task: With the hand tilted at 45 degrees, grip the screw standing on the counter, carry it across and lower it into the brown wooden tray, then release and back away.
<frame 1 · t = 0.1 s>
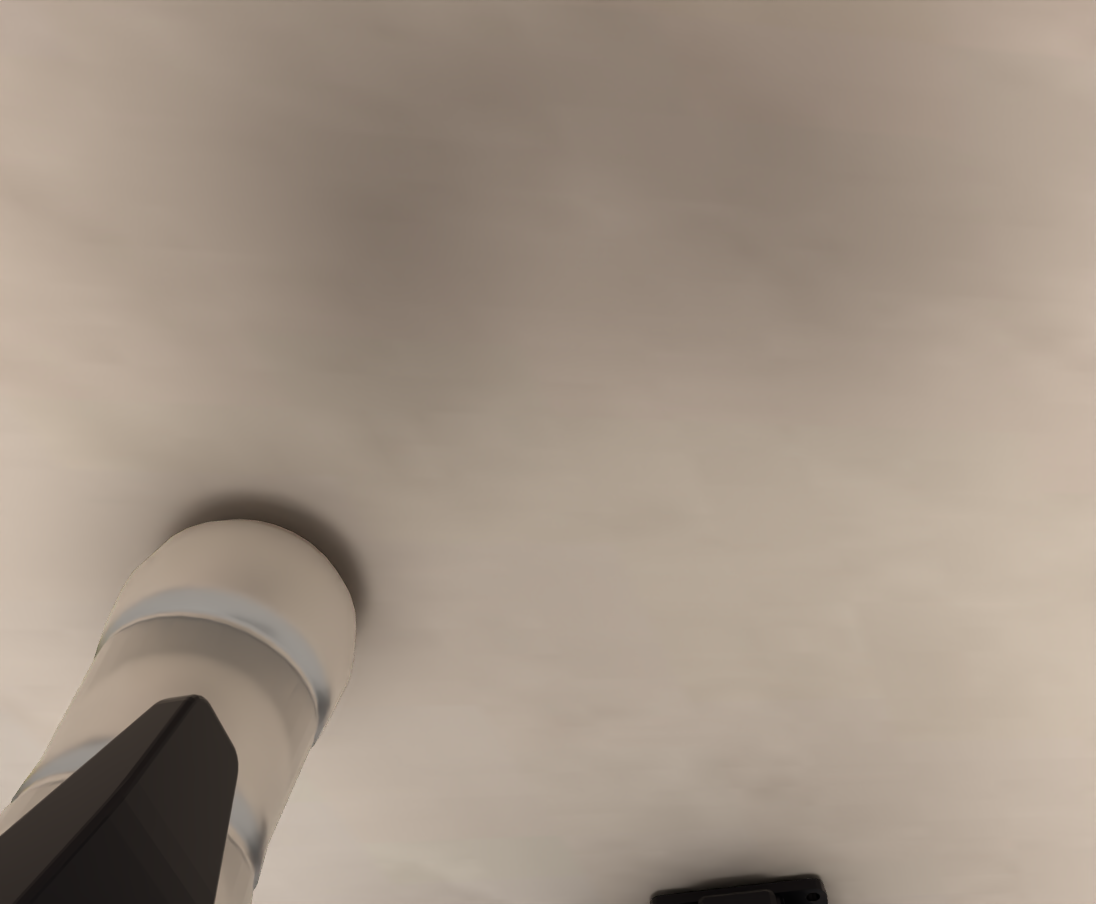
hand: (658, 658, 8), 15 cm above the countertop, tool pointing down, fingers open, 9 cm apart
plastic bottle: (267, 579, 27), on the countertop
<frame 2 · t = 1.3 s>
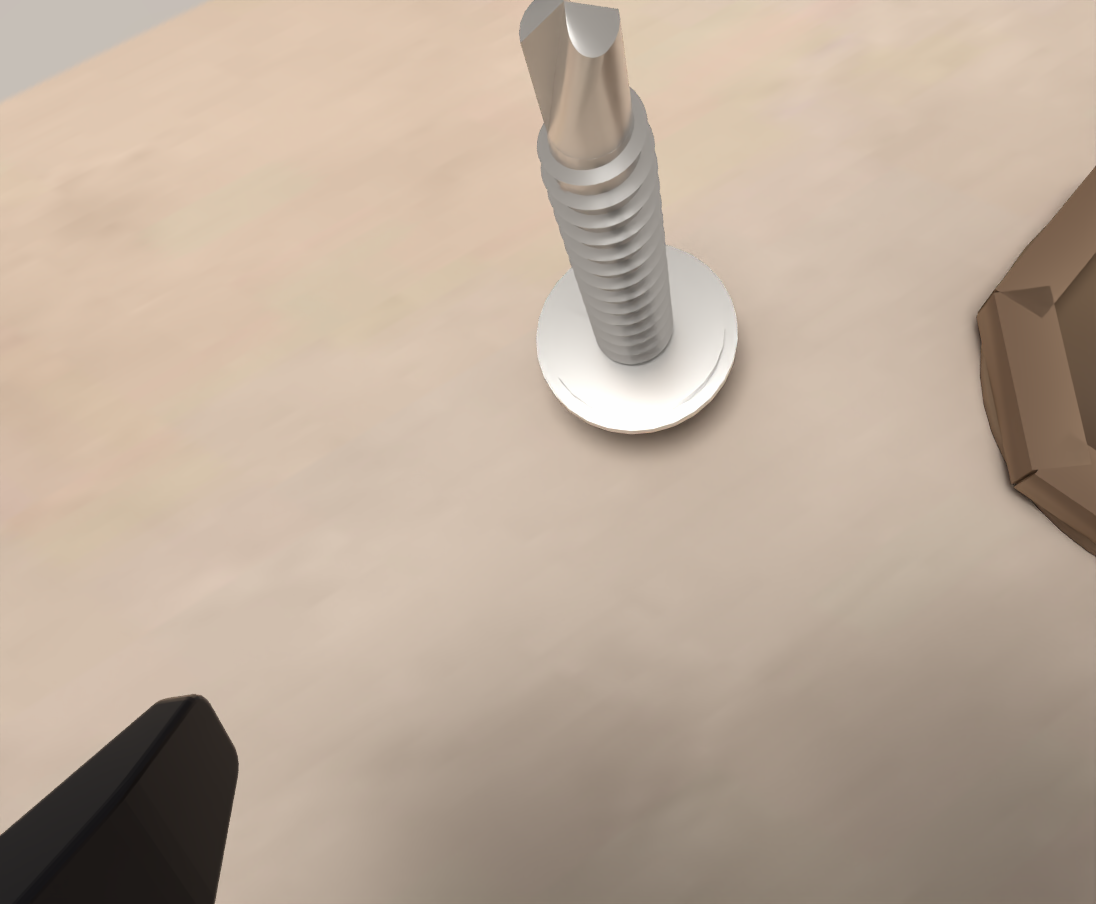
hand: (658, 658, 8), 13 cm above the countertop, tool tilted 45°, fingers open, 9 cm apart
screw: (641, 365, 23), on the countertop
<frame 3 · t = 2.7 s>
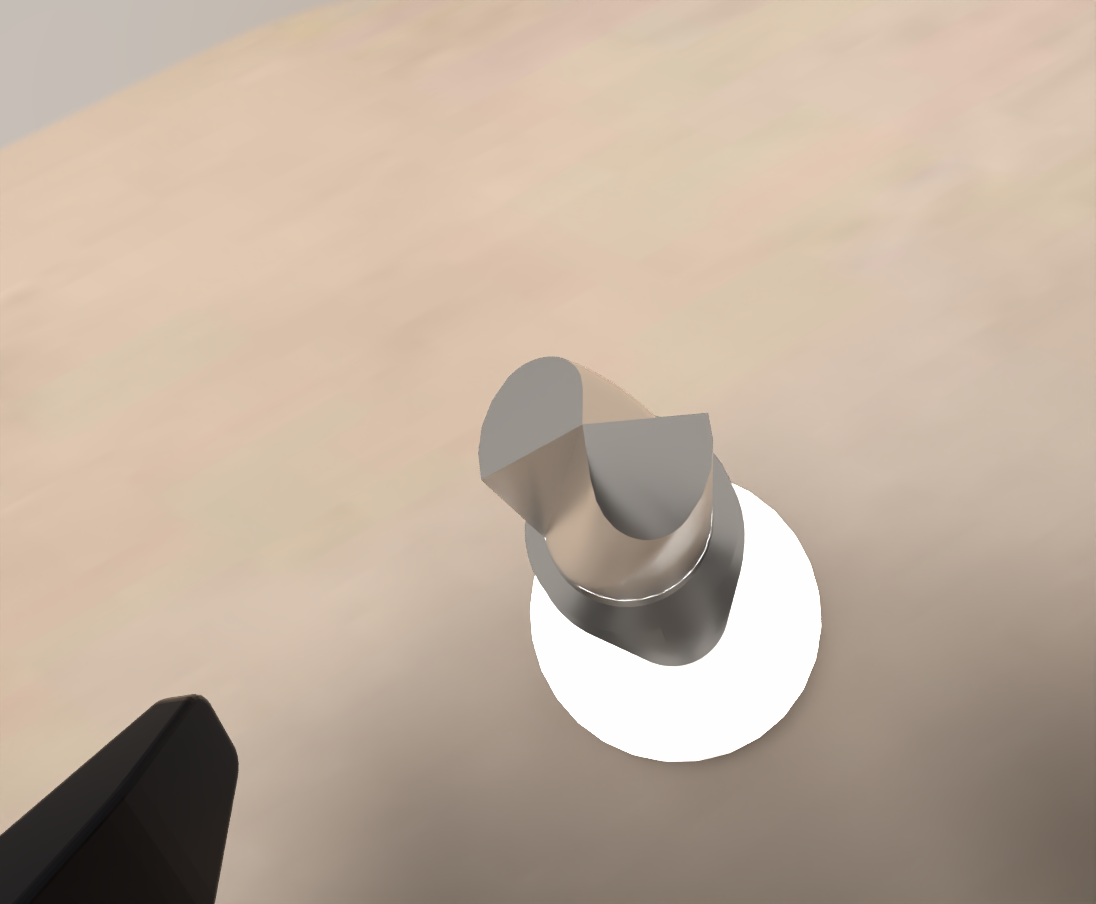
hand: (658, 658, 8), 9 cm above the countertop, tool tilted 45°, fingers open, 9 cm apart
screw: (676, 619, 17), on the countertop
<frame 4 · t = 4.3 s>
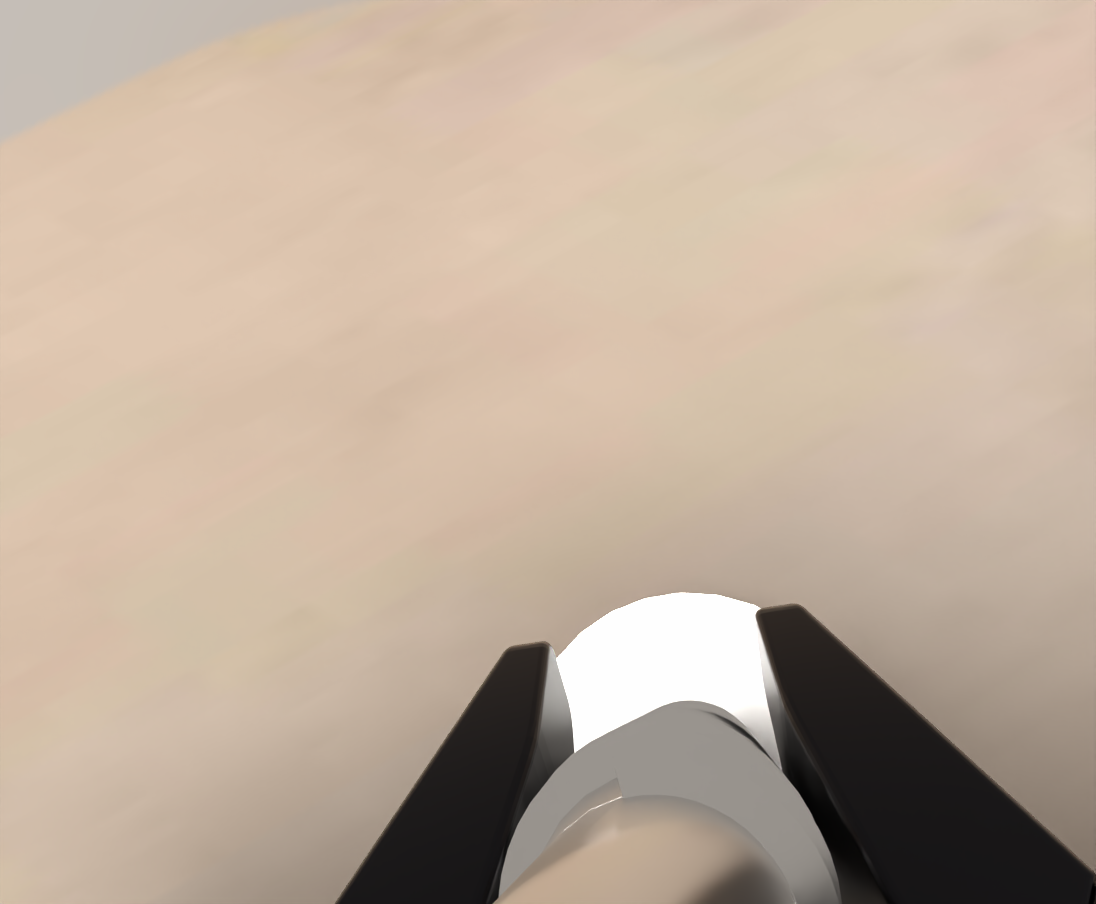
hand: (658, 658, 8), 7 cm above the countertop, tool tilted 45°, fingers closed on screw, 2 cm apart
screw: (695, 755, 14), on the countertop, touching gripper
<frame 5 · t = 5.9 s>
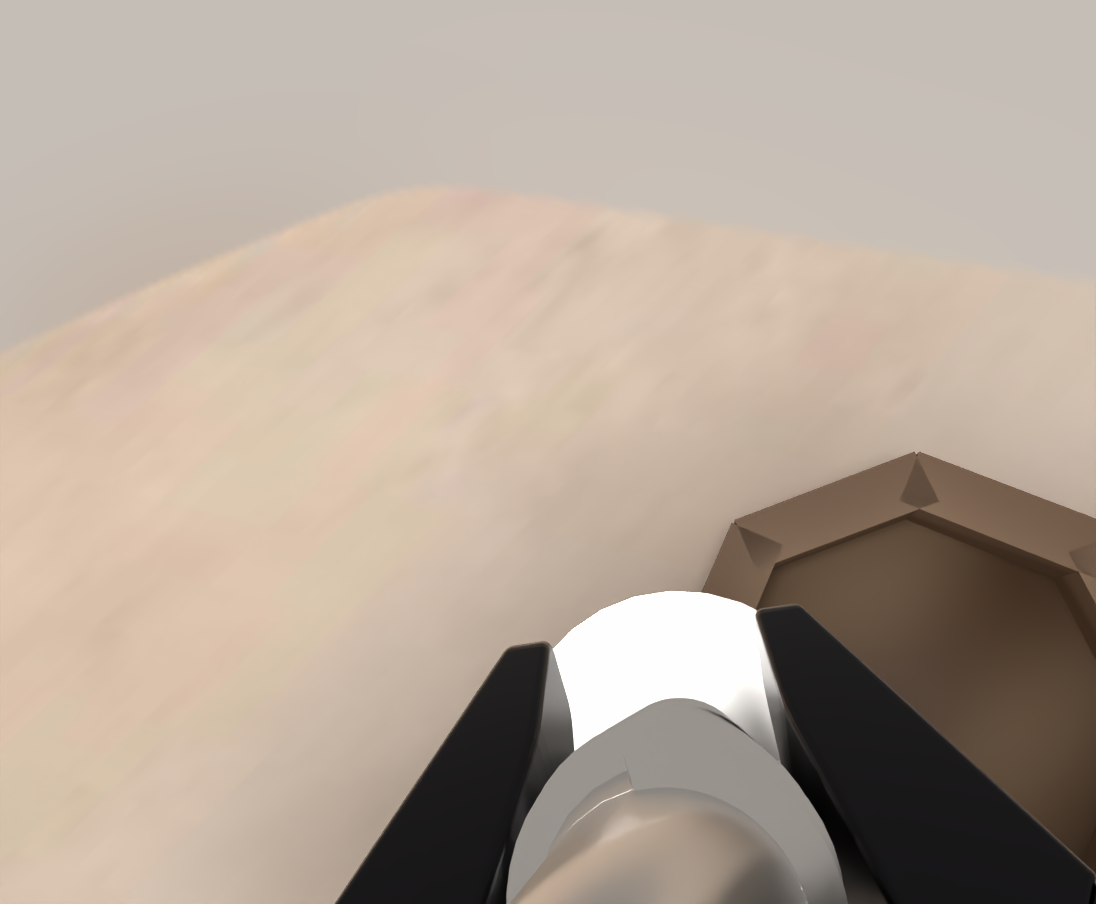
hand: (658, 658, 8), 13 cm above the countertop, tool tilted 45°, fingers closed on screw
screw: (682, 753, 14), point 6 cm above the countertop, touching gripper
brown wooden tray: (910, 712, 20), on the countertop
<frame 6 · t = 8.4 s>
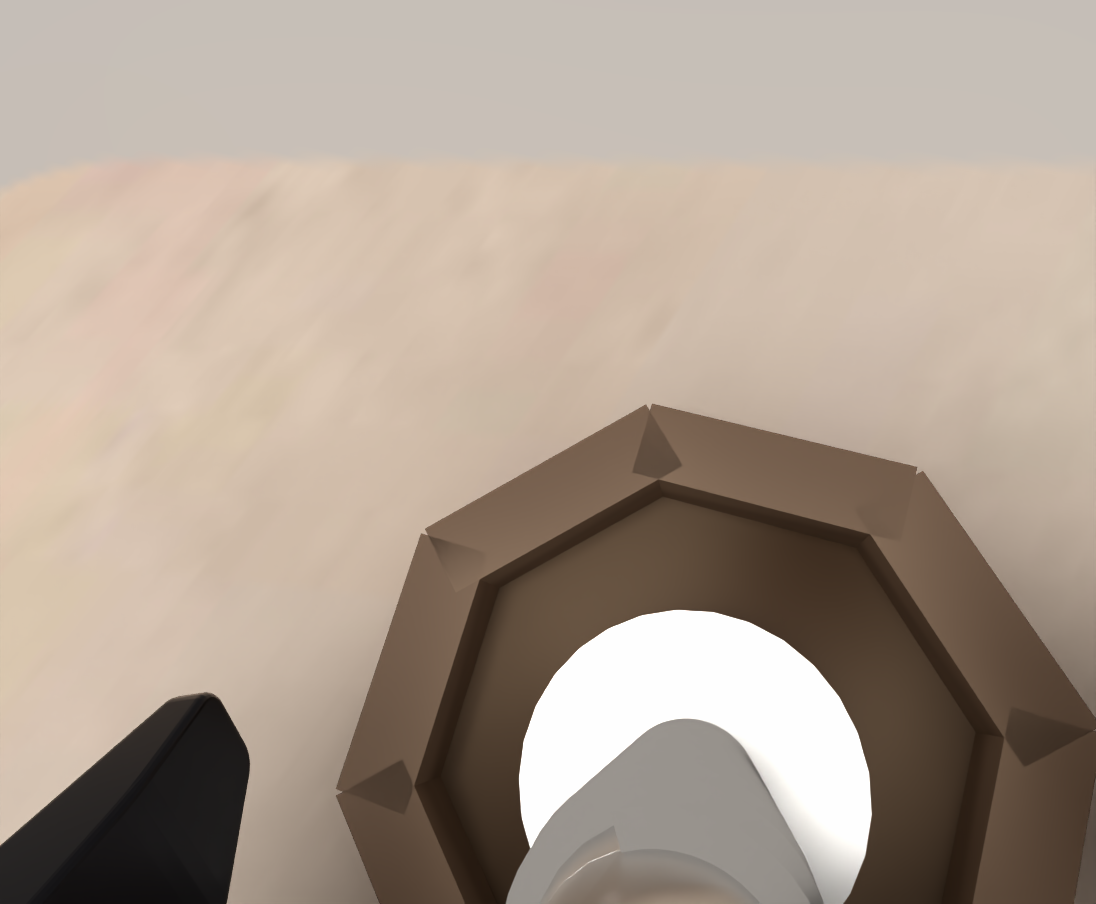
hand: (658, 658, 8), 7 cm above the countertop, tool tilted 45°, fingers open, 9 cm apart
screw: (691, 769, 14), on the countertop, touching brown wooden tray
brown wooden tray: (696, 753, 15), on the countertop
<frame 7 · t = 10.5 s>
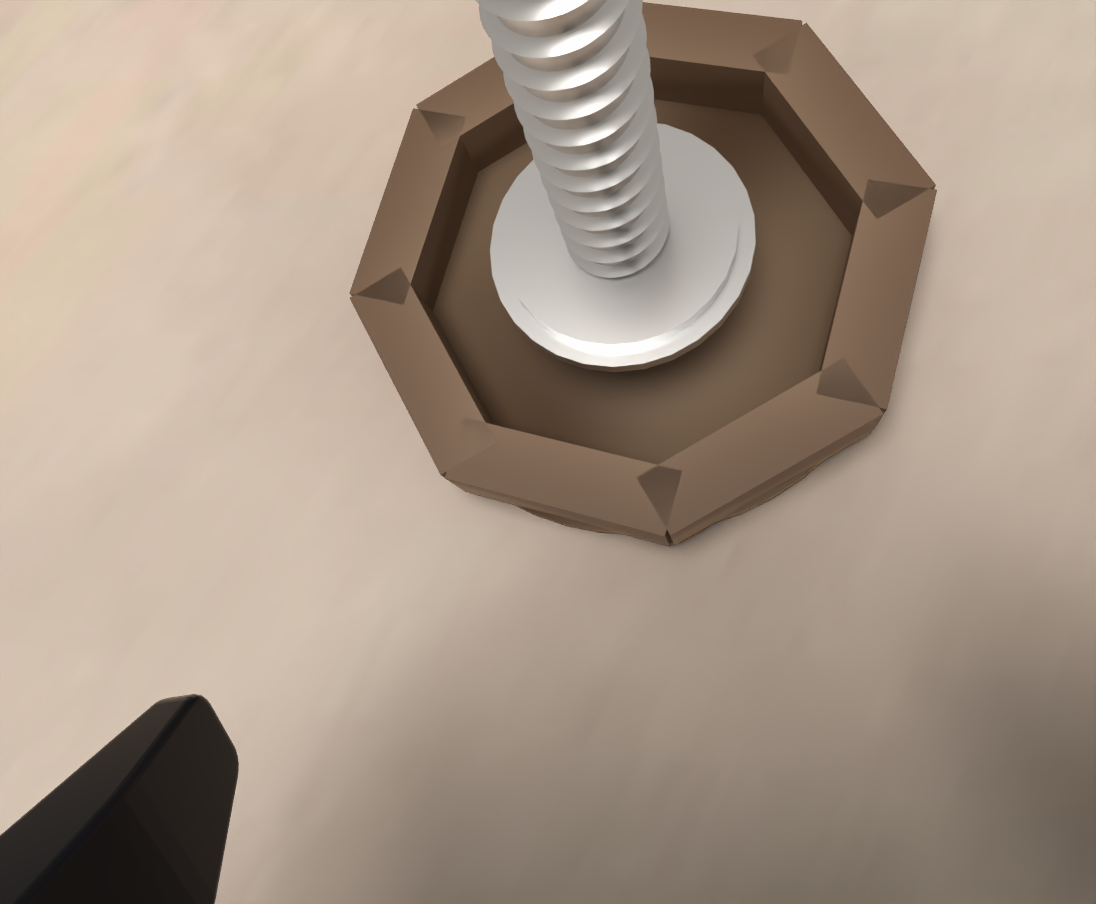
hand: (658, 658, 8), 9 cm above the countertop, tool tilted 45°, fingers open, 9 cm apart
screw: (631, 289, 18), on the countertop, touching brown wooden tray
brown wooden tray: (636, 283, 18), on the countertop
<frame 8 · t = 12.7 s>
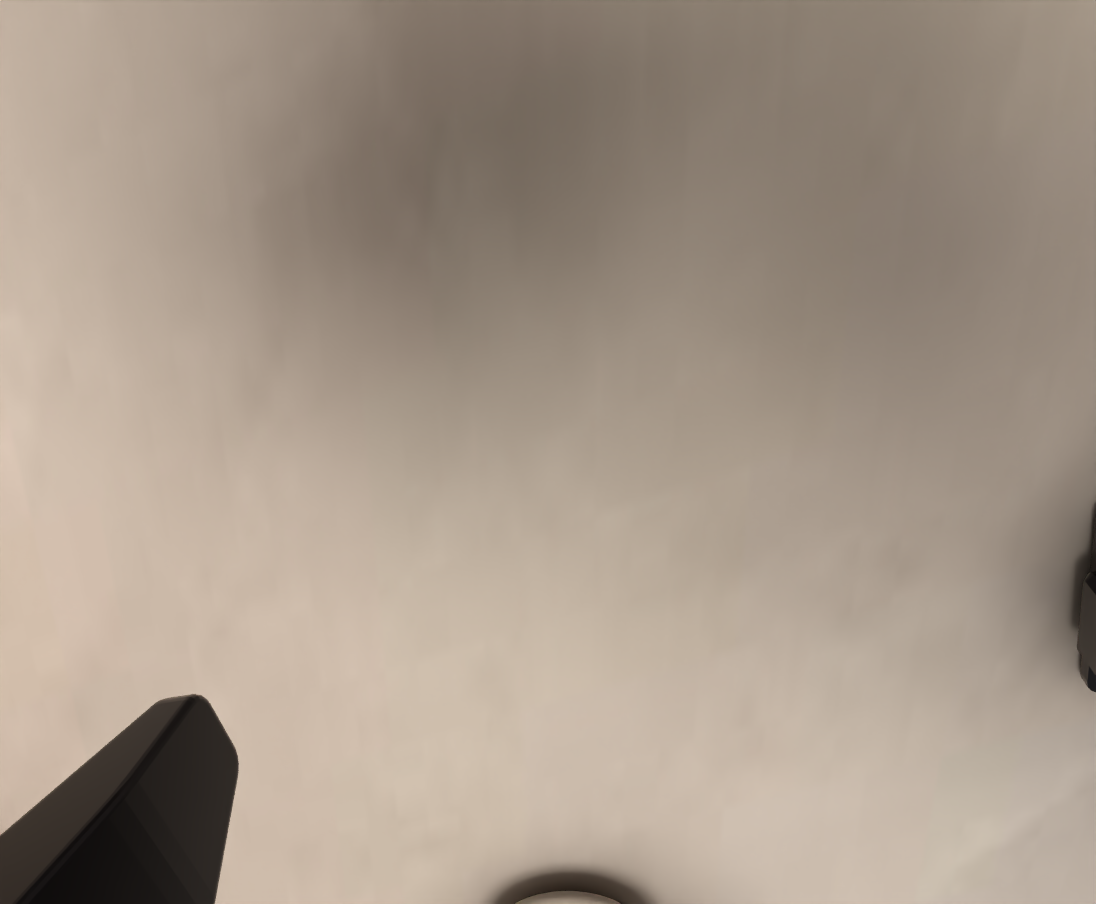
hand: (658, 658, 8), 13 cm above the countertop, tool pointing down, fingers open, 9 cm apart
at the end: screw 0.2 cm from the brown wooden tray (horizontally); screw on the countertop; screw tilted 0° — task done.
